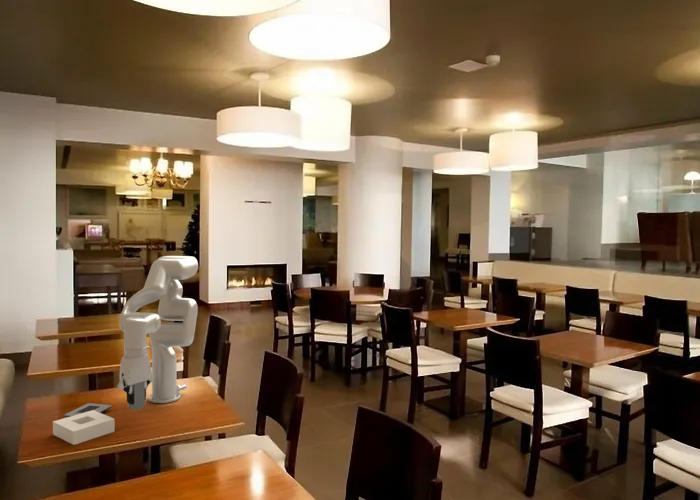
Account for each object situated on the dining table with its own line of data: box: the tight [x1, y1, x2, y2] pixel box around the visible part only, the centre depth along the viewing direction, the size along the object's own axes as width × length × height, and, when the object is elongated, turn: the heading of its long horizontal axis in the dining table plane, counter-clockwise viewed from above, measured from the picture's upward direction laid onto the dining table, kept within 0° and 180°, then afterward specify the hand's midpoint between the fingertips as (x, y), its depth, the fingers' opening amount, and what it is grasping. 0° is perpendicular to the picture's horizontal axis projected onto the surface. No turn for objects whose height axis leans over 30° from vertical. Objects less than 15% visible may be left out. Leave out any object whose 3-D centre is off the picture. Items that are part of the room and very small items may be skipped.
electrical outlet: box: [63, 402, 113, 418], centre depth 196 cm, size 13×10×2 cm
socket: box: [52, 410, 116, 446], centre depth 179 cm, size 14×14×4 cm
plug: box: [127, 381, 146, 411], centre depth 187 cm, size 4×4×12 cm
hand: (136, 401), depth 187 cm, fingers closed on plug, 4 cm apart
